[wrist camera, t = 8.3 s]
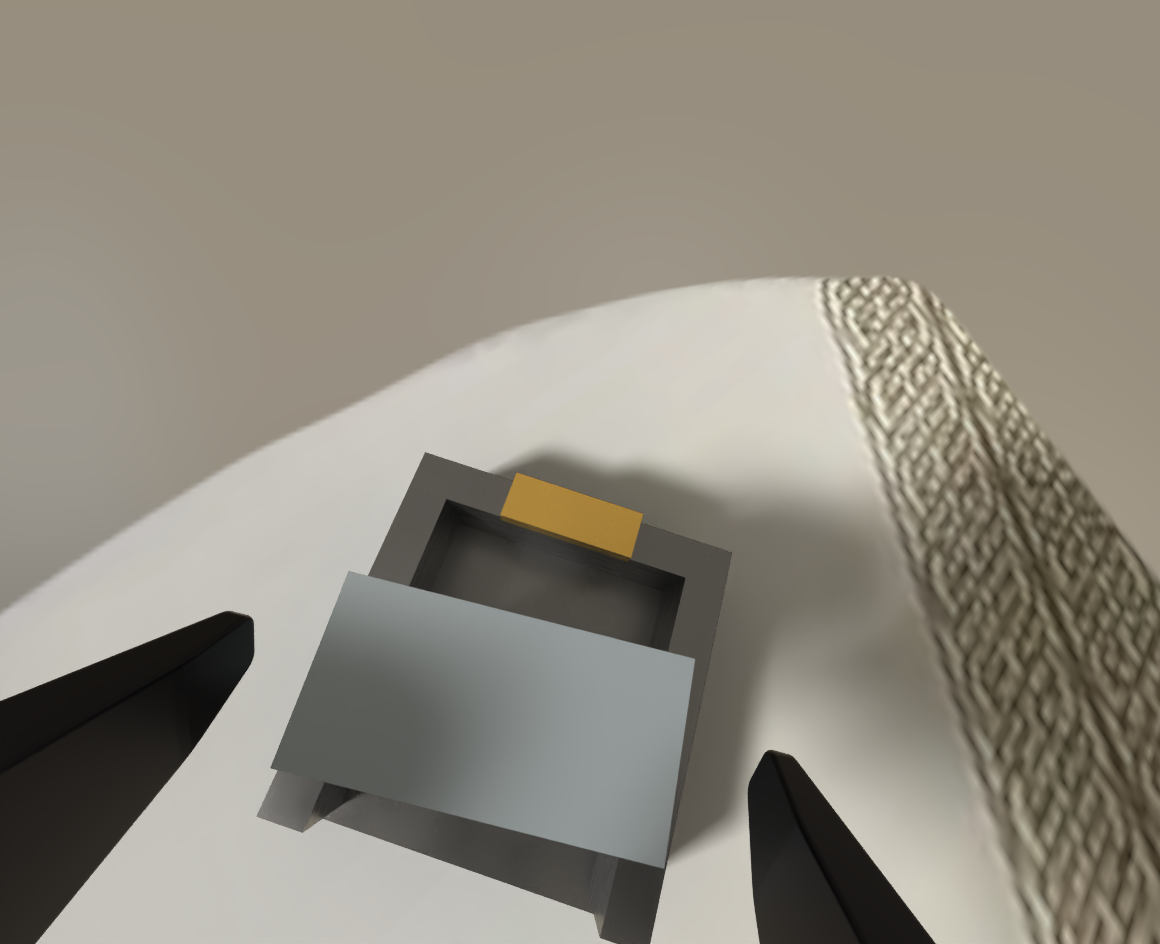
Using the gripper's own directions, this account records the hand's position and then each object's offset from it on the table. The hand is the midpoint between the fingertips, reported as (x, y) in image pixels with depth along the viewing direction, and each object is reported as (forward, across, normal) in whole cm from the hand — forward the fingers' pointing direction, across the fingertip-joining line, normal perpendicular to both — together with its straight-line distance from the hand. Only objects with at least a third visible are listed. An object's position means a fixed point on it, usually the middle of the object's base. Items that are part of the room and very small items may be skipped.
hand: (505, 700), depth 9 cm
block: (+6, 0, +6) cm, 9 cm away
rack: (+7, 0, +7) cm, 10 cm away
